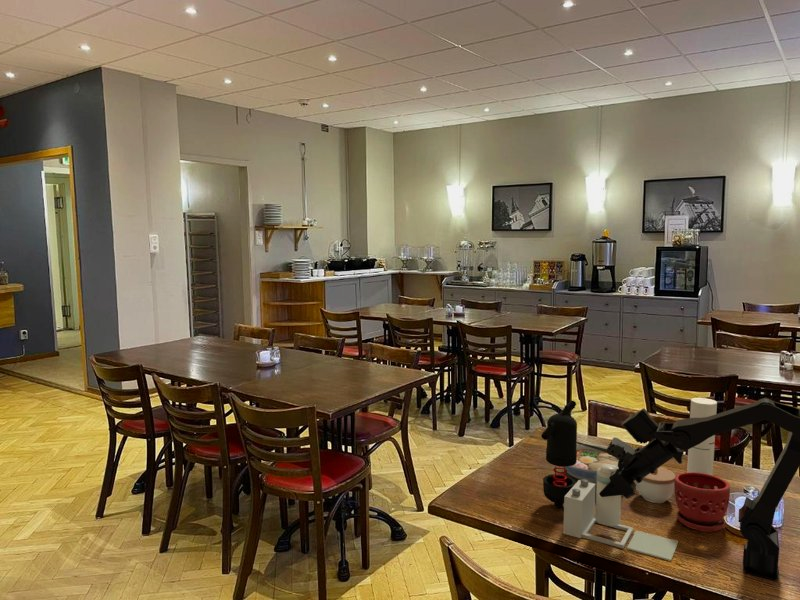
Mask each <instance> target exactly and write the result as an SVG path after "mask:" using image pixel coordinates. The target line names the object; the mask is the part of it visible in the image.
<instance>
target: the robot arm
mask: <svg viewBox="0 0 800 600" xmlns="http://www.w3.org/2000/svg"><path fill="white" fill-rule="evenodd" d="M762 421H767V422H769V423H772V424H774V425H775V426H778V427H779V428H780V429H783V430H785V431H787V433H788V434H787V438H786V441H785V445H784V447H783V449H782V451H781V452H780V455H779V457H778V458H777V460H776V462H775V463H774V465H773V467H772V470H770V473H769V475H768V477H767V479H766V480H765V481H764V484H763V486H762V487H761V489H760V492H759V493H758V495H757V496H755V497H754V498H752V499H751V498H750V497H748V496H746V497H745V499H744V502H743V505H742V507H740V508H739V509H738V519H737V520H738V523H739V532H740V533H741V536H742V537H743V538H744V539H745V540H746V541H747V542H746V544H744V546H743V551H742V553H743V555H742V566H743V567H744V569H743V572H744V573H745V574H749V575H753V576H757V577H761V578H765V579H768V580H772V581H776V582H777V581H778V582H779V568H780V567H779V562H780V561H779V560H780V559H779V557H780V548H781V547H780V546H781V545H780V541H779V531H778V530H777V529H776V528H775V527H774V526H773V522H774V519H775V514H776V510H777V507H778V506H779V504H780V502H781V500H782V498H783V497H784V495H785V493H786V491H787V489H789V485H790V484H791V483H792V480H793V479H794V477H795V475H796V473H797V472H798V470H799V468H800V408H797V407H795V406H793V405H789V404H784V403H781V402H777V401H775V400H772V399H770V398H764V397H763V398H760V399H758V400H757V401H754V402H751V403H748V404H744V405H741V406H737V407H735V408H734V407H733V408H732V409H729V410H726V411H722V412H718V413H716V414H715V415H712V416H709V417H704V418H690V417H689V418H682V419H678V420H676V421H675V422H662V421H661V422H659V423H658V422H656V420H654V418H653V417H652V416H651V415H650V414H649V411H648V410H646V408H645V407H643V408H642V409H640V410H638V411H636V412H633V413H632V414H631V415H630V416H628V417H627V418H626V419H624V421H623V422H622V423H621V426H622V427H623V429H625V431H627V432H628V434H629V435H630V436H631V437H632V438H633V440H635V442H636V443H640V444H645V445H644V446H641V447H640V446H639V447H636V449H635V448H634V447H632V446H631V445H629V444H628V443H626V442H625V441H623V440H621V439H620V438H618V437H615V436H614V437H613V438H612V439H611V441H610V443H609V444H608V446H607V447H608V448H607V449H606V453H607V454H609V455H612V456H613V457H615V458H617V459H618V460H619V461H618V468H619V469H617V470H615V471H614V472H612V473H611V475H610V477H609V478H610V482H609V483H608V484H607V485H606V486H605V487H604V489H603V490H602V491H601V492H600V493H599V495H600V496H601V497H608V496H618V495H621V496H623V497H624V498H625V499H630V498H631V497H633V496H634V495H635V493H636V491H637V485H636V481H637V482H638V483H640V482H641V481H642V480H643V478H644V477H645V476H647V475H648V474H650V473H651V474H653V473H655V471H656V469H657V468H659V467H661V466H663V465H665V464H666V463H667V462H669V461H670V460H672V459H674V460H675V461H676V462H677V463H678V464H680V465H681V464H682V463H683V460H684V453H685V451H688V449H690V448H692V447H694V446H696V445H698V444H700V443H702V442H703V441H705V440H706V439H708V438H710V437H712V436H714V435H715V436H716V435H719V434H723V433H727V432H729V431H732V430H733V431H734V430H736V429H739V428H742V427H746V426H749V425H752V424H756V423H759V422H762ZM653 438H654V439H653ZM652 439H653V440H652ZM650 440H651V441H650ZM646 443H647V444H646Z"/></svg>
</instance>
